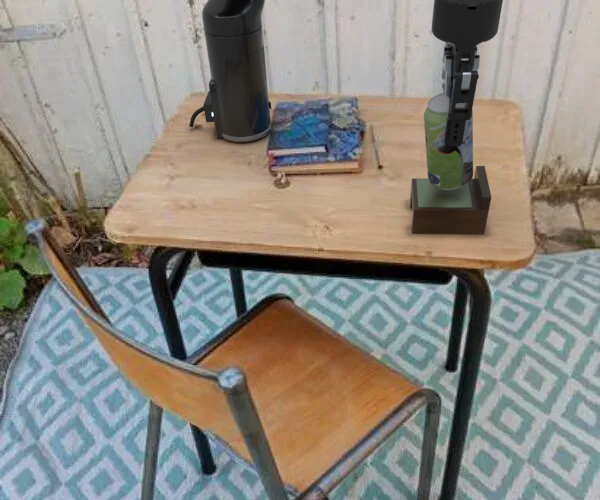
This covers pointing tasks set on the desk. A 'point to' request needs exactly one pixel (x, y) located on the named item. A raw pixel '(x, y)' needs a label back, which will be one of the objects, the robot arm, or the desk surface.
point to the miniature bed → (451, 206)
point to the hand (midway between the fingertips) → (451, 131)
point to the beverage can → (446, 148)
